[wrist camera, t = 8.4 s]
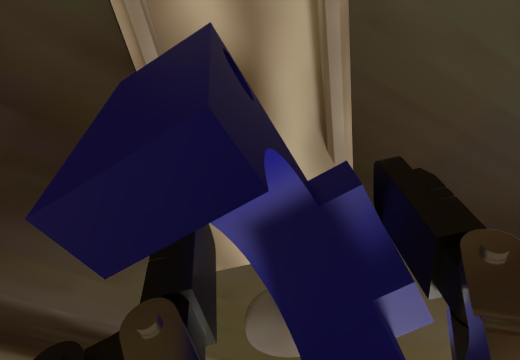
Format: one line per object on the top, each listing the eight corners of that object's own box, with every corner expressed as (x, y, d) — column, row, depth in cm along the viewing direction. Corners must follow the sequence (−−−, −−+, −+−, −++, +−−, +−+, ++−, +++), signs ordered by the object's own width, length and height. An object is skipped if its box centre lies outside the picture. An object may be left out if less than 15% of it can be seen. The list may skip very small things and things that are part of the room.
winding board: (336, -121, 20) (467, -191, 10) (349, 231, 35) (406, 345, 25) (91, -70, 20) (-31, -88, 10) (211, 260, 35) (211, 387, 25)
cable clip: (397, 260, 15) (488, 413, 10) (305, 303, 16) (347, 462, 11) (260, -11, 9) (319, 37, 4) (120, 82, 10) (25, 219, 5)
